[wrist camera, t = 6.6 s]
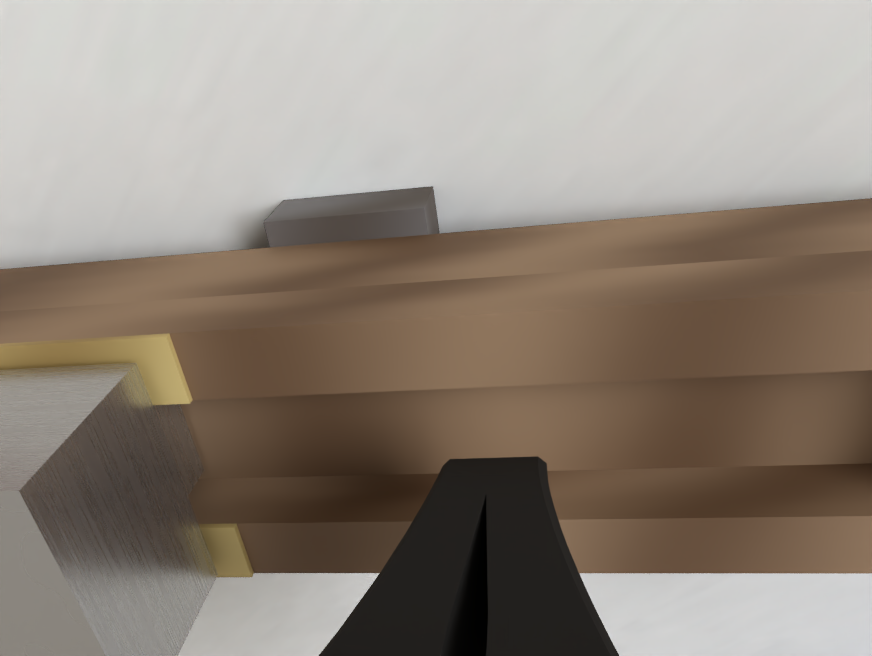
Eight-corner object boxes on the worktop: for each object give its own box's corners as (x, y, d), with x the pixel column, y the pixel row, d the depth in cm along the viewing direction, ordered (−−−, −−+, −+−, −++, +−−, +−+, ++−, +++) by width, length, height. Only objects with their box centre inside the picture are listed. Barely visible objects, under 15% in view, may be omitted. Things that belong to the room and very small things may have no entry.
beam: (989, 134, 12) (1291, 276, 7) (924, 424, 15) (1109, 666, 10) (-126, 238, 16) (-418, 377, 11) (-10, 453, 19) (-202, 639, 14)
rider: (177, 318, 12) (19, 490, 8) (245, 517, 14) (142, 726, 10) (-34, 332, 13) (-266, 496, 9) (61, 520, 15) (-96, 715, 11)
